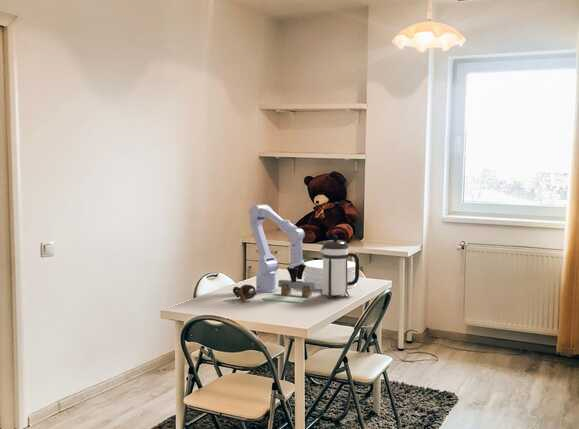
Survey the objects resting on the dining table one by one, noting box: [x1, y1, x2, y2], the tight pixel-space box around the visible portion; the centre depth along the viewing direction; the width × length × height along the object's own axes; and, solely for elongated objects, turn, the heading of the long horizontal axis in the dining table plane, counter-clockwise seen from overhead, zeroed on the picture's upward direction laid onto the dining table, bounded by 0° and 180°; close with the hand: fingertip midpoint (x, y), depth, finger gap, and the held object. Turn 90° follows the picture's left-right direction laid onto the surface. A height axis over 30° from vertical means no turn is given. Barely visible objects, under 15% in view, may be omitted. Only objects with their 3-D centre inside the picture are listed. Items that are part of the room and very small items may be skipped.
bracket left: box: [280, 285, 292, 296], centre depth 312 cm, size 3×6×5 cm, turn 158°
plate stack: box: [303, 259, 358, 291], centre depth 335 cm, size 28×28×12 cm
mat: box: [262, 294, 309, 304], centre depth 299 cm, size 20×8×1 cm, turn 67°
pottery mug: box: [232, 284, 258, 303], centre depth 299 cm, size 12×10×8 cm
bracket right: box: [301, 286, 313, 298], centre depth 307 cm, size 3×6×5 cm, turn 157°
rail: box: [277, 279, 316, 291], centre depth 309 cm, size 18×3×3 cm, turn 67°
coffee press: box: [319, 234, 360, 300], centre depth 307 cm, size 17×16×30 cm
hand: (296, 280), depth 309 cm, fingers open, 7 cm apart
